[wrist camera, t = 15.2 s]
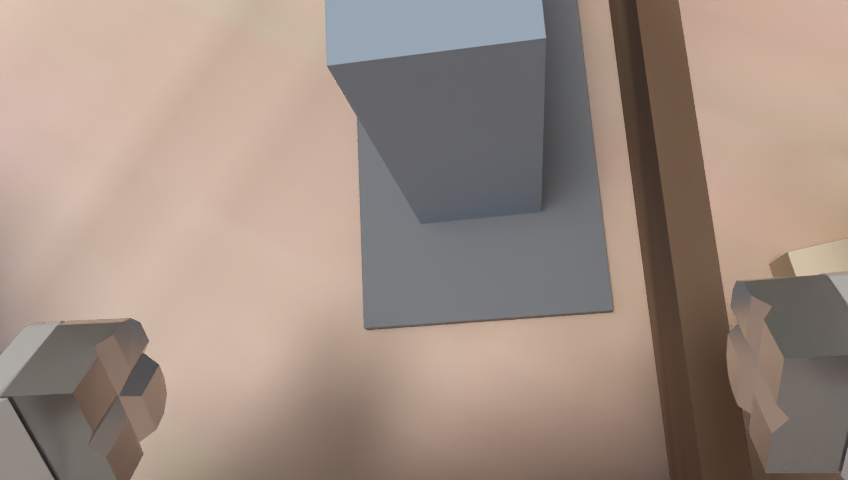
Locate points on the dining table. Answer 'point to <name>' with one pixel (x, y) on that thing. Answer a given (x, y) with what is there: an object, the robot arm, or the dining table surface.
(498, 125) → the board
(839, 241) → the offcut lower
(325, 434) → the dining table surface
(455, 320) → the mat
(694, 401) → the frame
